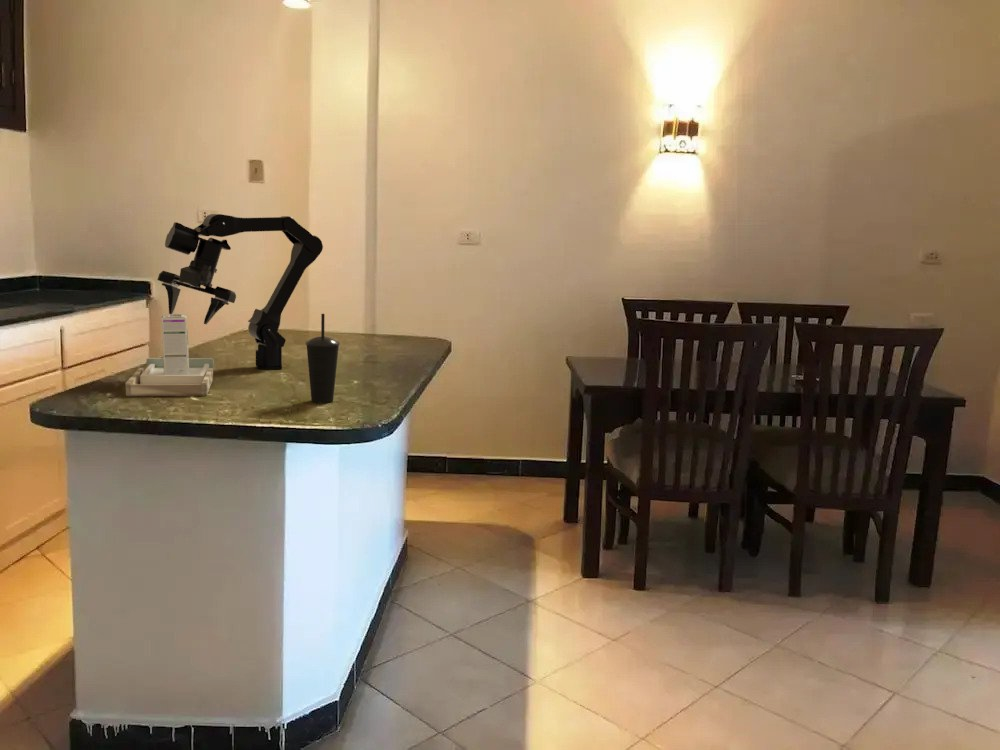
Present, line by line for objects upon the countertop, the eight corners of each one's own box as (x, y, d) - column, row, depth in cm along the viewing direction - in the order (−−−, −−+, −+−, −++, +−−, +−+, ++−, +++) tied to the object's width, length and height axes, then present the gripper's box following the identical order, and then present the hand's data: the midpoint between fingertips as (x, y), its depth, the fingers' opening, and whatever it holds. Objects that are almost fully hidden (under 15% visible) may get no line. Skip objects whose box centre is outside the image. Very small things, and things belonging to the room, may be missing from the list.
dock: (139, 380, 201) (139, 368, 200) (213, 380, 205) (212, 368, 205) (126, 396, 183) (125, 383, 183) (206, 395, 188) (206, 382, 187)
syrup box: (189, 376, 200) (187, 316, 197) (162, 376, 198) (161, 316, 195) (188, 372, 205) (187, 314, 202) (163, 372, 203) (161, 313, 200)
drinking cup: (310, 405, 182) (310, 315, 179) (301, 398, 189) (301, 312, 185) (343, 403, 186) (344, 315, 182) (333, 396, 193) (334, 311, 189)
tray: (147, 370, 210) (147, 358, 209) (213, 370, 214) (213, 358, 213) (135, 384, 193) (135, 370, 192) (207, 383, 197) (207, 370, 196)
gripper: (158, 244, 203) (139, 304, 202) (230, 265, 203) (212, 325, 202) (175, 253, 214) (157, 310, 214) (244, 273, 214) (226, 330, 214)
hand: (187, 319), depth 210 cm, fingers open, 9 cm apart
